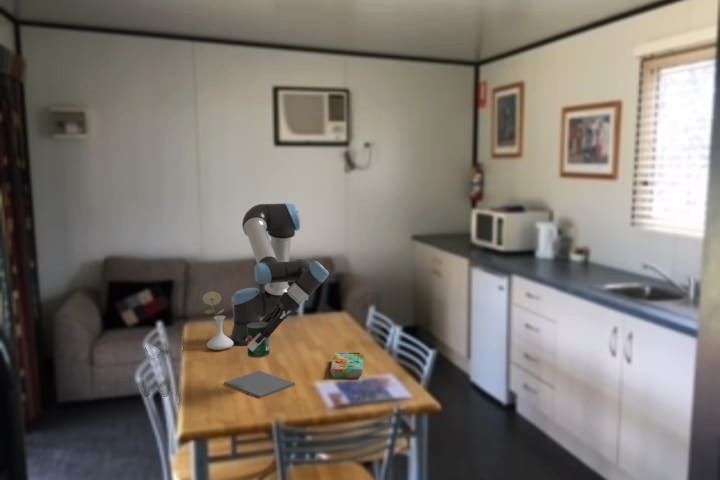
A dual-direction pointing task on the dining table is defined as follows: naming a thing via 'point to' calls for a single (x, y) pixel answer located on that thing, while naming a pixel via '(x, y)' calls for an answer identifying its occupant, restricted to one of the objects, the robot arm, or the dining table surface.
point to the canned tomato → (264, 346)
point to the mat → (259, 384)
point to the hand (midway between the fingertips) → (248, 345)
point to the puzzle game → (347, 364)
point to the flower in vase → (219, 339)
